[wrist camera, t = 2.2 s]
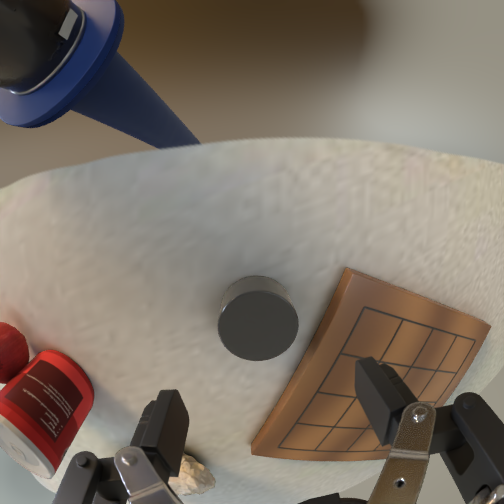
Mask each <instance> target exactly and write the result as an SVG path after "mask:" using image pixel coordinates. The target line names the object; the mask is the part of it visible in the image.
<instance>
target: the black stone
mask: <svg viewBox="0 0 504 504" xmlns="http://www.w3.org/2000/svg"><path fill="white" fill-rule="evenodd" d="M297 332H298V317H297V314H296V311H295V309H294V306H293V304H292V302H291V299H290V297H289V295H288V293H287V291H286V290H285V289H284V287H283V286H282V285H281V284H279V283H278V282H277V281H275V280H273V279H271V278H268V277H264V276H250V277H246V278H243V279H240V280H238V281H237V282H235V283H234V284H232V285H231V286H230V287H229V288H228V290H227V291H226V292H225V294H224V296H223V298H222V302H221V307H220V313H219V319H218V334H219V337H220V339H221V341H222V343H223V345H224V346H225V347H226V348H227V349H228V350H229V351H230V352H231V353H232V354H234V355H236V356H238V357H240V358H242V359H246V360H251V361H263V360H268V359H271V358H274V357H276V356H279V355H280V354H282V353H283V352H284V351H286V350H287V349H288V348H289V347H290V346H291V344H292V343H293V341H294V340H295V338H296V335H297Z"/></svg>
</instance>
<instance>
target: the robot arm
mask: <svg viewBox="0 0 504 504" xmlns="http://www.w3.org/2000/svg"><path fill="white" fill-rule="evenodd" d="M86 24H87V18H86V14H85V12H84V11H83V10H82V9H81V8H80V7H79V6H77V5H76V4H75V3H74V2H73V1H72V0H0V88H3V89H6V90H9V91H11V92H12V93H14V94H17V95H28V94H31V93H34V92H36V91H37V90H39V89H41V88H42V87H43V86H45V85H46V84H47V83H48V82H50V81H51V80H52V79H53V78H54V77H55V76H56V75H57V74H58V73H59V72H60V71H61V70H62V68H63V67H64V66H65V65H66V64H67V62H68V61H69V60H70V58H71V57H72V55H73V54H74V52H75V51H76V49H77V48H78V46H79V44H80V42H81V40H82V38H83V35H84V32H85V29H86ZM354 386H355V393H356V396H357V398H358V400H359V402H360V404H361V406H362V408H363V410H364V412H365V414H366V416H367V418H368V420H369V422H370V424H371V426H372V428H373V430H374V432H375V434H376V436H377V438H378V440H379V442H380V444H381V446H382V447H383V446H386V445H388V444H390V445H391V450H390V452H389V454H388V457H387V459H386V462H385V464H384V467H383V469H382V472H381V474H380V476H379V479H378V481H377V483H376V485H375V487H374V490H373V492H372V494H371V496H370V498H369V500H368V501H366V500H362V499H356V498H340V497H339V493H334V494H330V495H326V496H321V497H317V498H312V499H309V500H306V501H304V502H301V503H298V504H416V502H417V499H418V496H419V493H420V490H421V487H422V484H423V480H424V477H425V474H426V470H427V466H428V463H429V458H430V454H435V453H440V455H441V457H442V459H443V461H444V462H445V464H446V466H447V468H448V470H449V472H450V474H451V475H452V477H453V479H454V481H455V483H456V485H457V487H458V489H459V491H460V493H461V495H462V497H463V499H464V501H465V503H466V504H504V424H503V422H502V421H501V420H500V419H499V418H498V416H497V415H496V414H495V413H494V412H493V410H492V409H491V408H490V407H489V406H488V404H487V403H486V402H485V401H484V400H483V399H482V397H481V396H480V395H478V394H476V393H472V392H466V393H463V394H461V395H459V396H458V397H457V398H456V399H455V401H454V404H453V405H448V406H443V407H437V408H434V407H433V406H432V405H431V404H429V403H426V402H419V401H418V399H417V398H416V397H415V395H414V394H413V393H412V391H411V390H410V389H409V387H408V386H407V385H406V384H405V382H403V380H402V378H401V377H400V376H399V375H398V373H397V372H396V371H395V370H394V368H392V367H391V366H389V365H387V364H385V363H383V364H380V365H379V364H378V363H377V362H376V360H375V359H374V358H373V357H372V356H370V357H367V358H363V359H360V360H356V362H355V384H354ZM188 427H189V415H188V412H187V409H186V407H185V405H184V403H183V400H182V398H181V396H180V394H179V392H178V390H176V389H175V390H161V391H160V392H159V395H158V397H157V400H156V401H151V402H150V403H149V404H148V405H147V406H146V407H145V409H144V411H143V414H142V417H141V418H140V421H139V424H138V426H137V428H136V431H135V433H134V436H133V438H132V441H131V443H130V446H128V447H124V448H122V449H121V450H119V451H118V452H117V453H116V455H115V457H111V458H102V459H98V458H97V457H96V456H95V455H94V454H93V453H91V452H88V451H83V452H79V453H77V454H76V455H75V456H73V458H72V459H71V461H70V464H69V466H68V468H67V470H66V472H65V475H64V477H63V479H62V481H61V484H60V486H59V488H58V491H57V493H56V496H55V498H54V500H53V503H52V504H126V502H127V499H128V501H129V504H183V502H182V501H181V500H180V498H179V497H178V496H177V494H176V493H175V492H174V490H173V489H172V487H171V486H170V485H169V483H168V481H169V477H179V471H180V466H181V461H182V456H183V451H184V446H185V441H186V437H187V432H188ZM95 493H96V494H95ZM94 496H95V497H94Z"/></svg>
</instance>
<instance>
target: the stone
mask: <svg viewBox="0 0 504 504" xmlns="http://www.w3.org/2000/svg"><path fill="white" fill-rule="evenodd" d="M215 482H216V481H215V478H214V477H213V475H212V474H211V473H210V470H209V469H207V468H206V467H205V466H204V465H202V464H200V463H198V462H197V461H196V460H195V459H194V458H193V457H192V456H188V455H186V454H185V453H184V452H183V456H182V461H181V466H180V471H179V477H169V481H168V483H169V485H170V486H171V487H172V489H173V490H174V492H175V493H176V494H177V495H178V494H180V495H191V494H195V493H197V494H202V493H204V492H206V491H208V490H209V489H211V488H214V487H215Z"/></svg>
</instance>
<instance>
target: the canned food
mask: <svg viewBox="0 0 504 504" xmlns="http://www.w3.org/2000/svg"><path fill="white" fill-rule="evenodd" d="M93 400H94V391H93V387H92V385H91V383H90V381H89V379H88V377H87V376H86V374H85V373H84V372H83V370H82V369H81V368H80V367H79V366H78V365H77V364H76V363H75V362H74V361H73V360H72V359H70V358H69V357H68V356H66V355H65V354H63V353H61V352H59V351H55V350H46V351H43V352H40V353H38V354H37V355H36V356H35V357H34V358H33V359H32V360H31V361H30V362H29V363H28V364H27V365H26V366H25V367H24V368H23V369H22V370H21V371H20V372H19V373H18V374H17V375H16V376H14V377H13V378H12V379H11V380H10V381H9V382H8V383H7V384H6V385H5V386H4V387H3V389H2V390H1V391H0V447H1V448H2V449H3V450H4V451H5V452H6V453H7V454H8V455H9V456H11V457H12V458H13V459H14V460H15V461H16V462H17V463H19V464H20V465H22V466H23V467H24V468H26V469H27V470H29V471H30V472H32V473H34V474H35V475H38V476H40V477H42V478H46V479H51V478H52V477H53V475H55V473H56V471H57V469H58V467H59V465H60V464H61V462H62V460H63V458H64V456H65V454H66V452H67V450H68V449H69V447H70V445H71V443H72V441H73V439H74V438H75V436H76V434H77V432H78V430H79V429H80V427H81V425H82V423H83V422H84V420H85V418H86V416H87V415H88V413H89V411H90V410H91V408H92V406H93Z"/></svg>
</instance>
